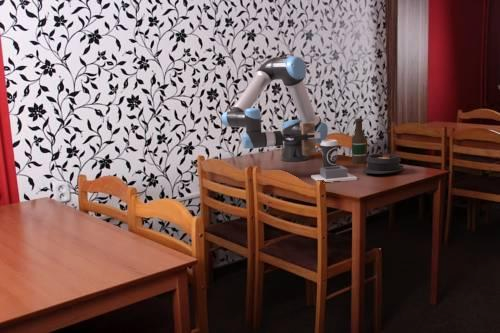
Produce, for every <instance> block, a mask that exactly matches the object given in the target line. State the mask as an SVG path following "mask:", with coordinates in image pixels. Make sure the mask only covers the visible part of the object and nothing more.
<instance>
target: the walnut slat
mask: <svg viewBox="0 0 500 333" xmlns="http://www.w3.org/2000/svg"><path fill="white" fill-rule="evenodd" d="M301 132H302V134H308V133H315V123H314V122H309V123H301ZM316 152H317V150H316V143H315V139H308V141H307V140H302V155H304V156H306V155H307V156H314V155H316Z"/></svg>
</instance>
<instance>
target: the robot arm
mask: <svg viewBox="0 0 500 333" xmlns="http://www.w3.org/2000/svg"><path fill="white" fill-rule="evenodd" d="M306 74H307V66H306V63H305V60H303V59H302V58H301V57H300V56H294V55H290V56H275V57H272V58H269V59H268V60H266V61H265V62H264V63H262V65H260V66H259V67H258V69H257V70H256V71H255V72H254V77H253V79H252V80H251V81H250V82H249V85H248V86H247V87H246V89H245V90H244V91H243V92H242V94H241V96H239V98H238V100H237V101H236V102H235V104H234V105H233V107H232V108H231V109H230V110H229V111H225V112H223V113H222V115H221V123H222V125H223V126H225V127H229V128H244V129H245V133H242V135H241V144H242V147H243V148H244V149H252V150H253V149H261V148H267V149H270V148H272V147H281V146H283V149H282V154H281V156H280V157H281V161H282V162H290V163H291V162H293V163H294V162H303V161H307V160H308V155H306V156H304V155H302V140H307V141H308V139H315V144H321V142H322V140H327V137H328V131H329V130H328V129H329V128H328V124H327V123H326V122H324V121H321V118H320V116H318V115H316V113H315V109H314V108H313V104H312V102H311V99H310V96H309V94H308V90H307V88H306V85H305V82H304V80H305V79H306V78H305V76H306ZM276 80H282V84H283V85H284V86H285V87H286V88H288V91H289V93H290V96H291V98H292V101H293V103H294V107H295V109H296V111H297V114H298V116H299V119H292V120H285V121H284V122H283V127H282V128H283V129H282V131H283V132H282V131H281V130H270V131H269V130H268V131H262V116H261V115H262V114H261V109H260V108H257V107H253V105H254V104H255V102H256V101H257V100H258V98H259V97H260V95H261V94H262V92H263V91H264V90H265V89H266V87H267V86H269V85H270V84H271V83H272V82H274V81H276ZM309 122H314V123H315V133H308V134H302V132H301V123H309Z"/></svg>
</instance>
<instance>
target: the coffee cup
mask: <svg viewBox="0 0 500 333" xmlns="http://www.w3.org/2000/svg"><path fill="white" fill-rule="evenodd" d="M319 145H320V148H321V155H322V164H323V165H322V167H332V166H338V165H337V162H338V149H339V148H338V147H339V146H340V145H339V142H338V140H337V139H325V140H322V142H321V143H319Z"/></svg>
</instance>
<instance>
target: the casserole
mask: <svg viewBox="0 0 500 333" xmlns="http://www.w3.org/2000/svg"><path fill="white" fill-rule="evenodd" d="M401 161H402V160H401V158H400V156H399V155H398V154H395V153H381V152H380V153H373V154H369V155H367V157H366V163H367V166H365V167H364V168H363V169H362V173H365V174H371V175H372V174H373V175H392V174H396V173H398V172H401V171H402V170H403V168H405V166H404V165H403V164H400V162H401Z"/></svg>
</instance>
